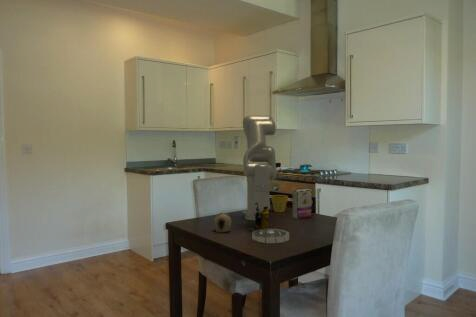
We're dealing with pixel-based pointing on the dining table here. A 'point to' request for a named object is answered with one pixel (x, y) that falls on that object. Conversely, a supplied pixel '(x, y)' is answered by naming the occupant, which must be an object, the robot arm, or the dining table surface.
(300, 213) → the candy bar box
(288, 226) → the dining table surface
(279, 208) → the plant pot
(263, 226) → the condiment
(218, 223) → the garlic bulb
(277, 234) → the faceted plate
